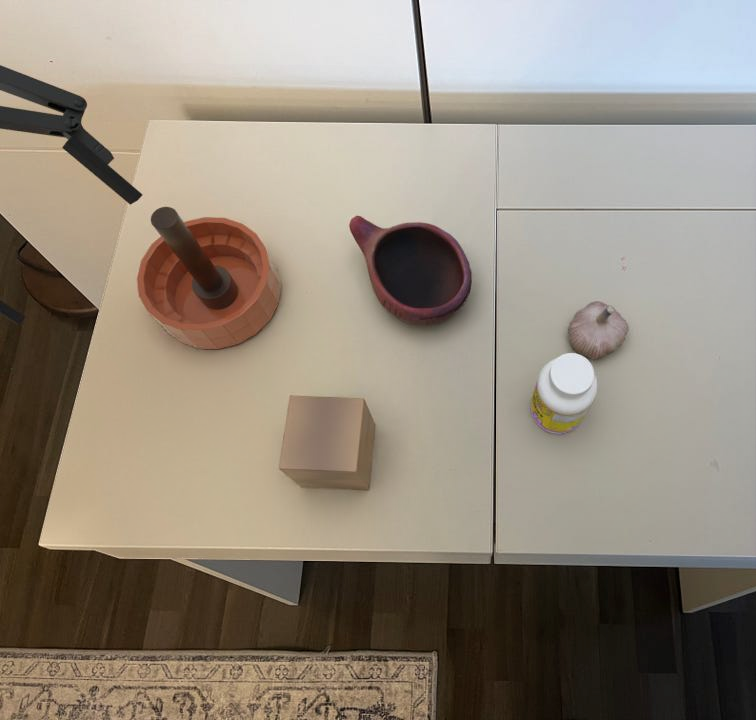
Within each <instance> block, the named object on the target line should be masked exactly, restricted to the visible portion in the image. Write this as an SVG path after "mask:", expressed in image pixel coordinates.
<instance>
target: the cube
mask: <svg viewBox="0 0 756 720" xmlns="http://www.w3.org/2000/svg"><path fill="white" fill-rule="evenodd" d="M286 412H287V413H286V420H285V425H284V431H283V437H282V438H283V439H282V445H281V449H280V451H281V452H280V457H279V463H278V469H279V470H280V471H281V472H282V473H283V474H284V475H285V476H287V477H288V478H289V479H290V480H292V482H294V483H295V484H296V485H298V486H299V487H300V488H302V489H325V490H349V491H351V490H352V491H370V486H371V476H372V466H373V456H374V447H375V446H374V445H375V436H376V423H375V420H374V418H373V416H372V413H371V411H370V409H369V406H368V405H367V402H366V400H365V398H362V397H361V398H360V397H339V396H338V397H336V396H315V395H314V396H313V395H292V394H291V395H289V397H288V405H287V411H286Z"/></svg>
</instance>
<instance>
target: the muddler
mask: <svg viewBox="0 0 756 720" xmlns="http://www.w3.org/2000/svg"><path fill="white" fill-rule="evenodd" d="M184 222H185V221H184V220H183V219H182V217H181V216H180V215H179V213H178V211H177V210H176V209H175V208H173V207H170V206H161V207H159V208H157V209H155V211H153V213H152V214H151V215H150V224H151V226H152V227H153V228H154V229H155V230H156V232H157V233H158V234H159V236H161V237H162V238H163V239H164V241H165V242H166V243H167V244H168V246H169V247H170V248H171V250H172V251H173V252H174V253H175V255H176V256H177V257H178V259H179V260H180V261H181V262H182V264H183V265H184V266H185V268H186V269H187V270H188V271H189V273H190V274H191V275H192V277H193V280H192V289H193V291H194V293H195V294H196V295H197V296H198V298H199V299H200V300H201V301H202V303H203V304H204V305H205V306H206V307H208V308H210V309H216V310H218V309H224V308H226V307H228V306H230V305H231V304H232V303H233V302H234V301H235V300H236V298H237V295H238V287H237V284H236V283H235V281H234V280H233V278H232V277H231V275H230V274H229V272H228V271H227V270H226V269H225V268H223V267H221V266H216V265H213V264H212V262H211V261H210V259H209V258H208V256H207V255H206V253H205V252H204V251H203V249H202V248H201V246H200V245H199V243H198V242H197V240H196V239H195V238H194V236H193V235H192V233H191V232H190V230H189V229H188V227H187V226H186V225H185V223H184Z"/></svg>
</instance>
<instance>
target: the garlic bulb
mask: <svg viewBox="0 0 756 720" xmlns="http://www.w3.org/2000/svg"><path fill="white" fill-rule="evenodd" d="M628 332H629V324H628V322H627V320H626V319H625V318H624V317H623V316H622V314H621V313H620V312H618V311H617V310H616V309H615V307H613V306H612V305H610V304H606V303H605V302H602V301H592V302H589V303H588V304H587V305H586V306H584V307H583V308H581V309H579V310H578V311H576V313H575V314H574V316H573V318H572V319H571V321H570V323H569V325H568V327H567V336H568V337H569V344H570V346H571V348H572V349H573V350H574V352H576V354H579V355H582V356H586V357H588V358H589V359H592V360H597V359H598V360H599V359H600V358H602V357H603V356H606V355H609V354H611V353H613V352H614V350H615V349H616V348H619V347H620V346H621V345H622V344H623V343H624V341H625V338H626V336H627V334H628Z"/></svg>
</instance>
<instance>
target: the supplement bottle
mask: <svg viewBox="0 0 756 720" xmlns="http://www.w3.org/2000/svg"><path fill="white" fill-rule="evenodd" d="M597 379H598V378H597V376H596V373H595V369H594V366H593V364H592V362H590V360H588V359H587V358H586V357H585V355H582V354H579V353H577V352H576V353H575V352H567V353H563V354H561V355H558V357H555V358H552V359H551V360H550V361H548V362H547V363H546V364H545V365H544V366H543V367H542V369H541V370H540V372H539V374H538V377H537V381H536V384H535V387H534V390H533V392H532V396H531V401H530V413H531V416H532V419H533V420H534V422H535V423H536V425H538V426H539V428H541V429H542V430H543V431H546V432H548V433H551V434H555V435H559V434H560V435H561V434H566V433H569V432H571V431H573V430H575V428H577V427H578V426H579V424H580V423H581V422H582V421H583V419H584V417H585V416H586V414H587V412H588V410H589V408H590V407H591V405H592V404H593V402H594V401H595V398H596V396H597V392H598V380H597Z"/></svg>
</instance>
